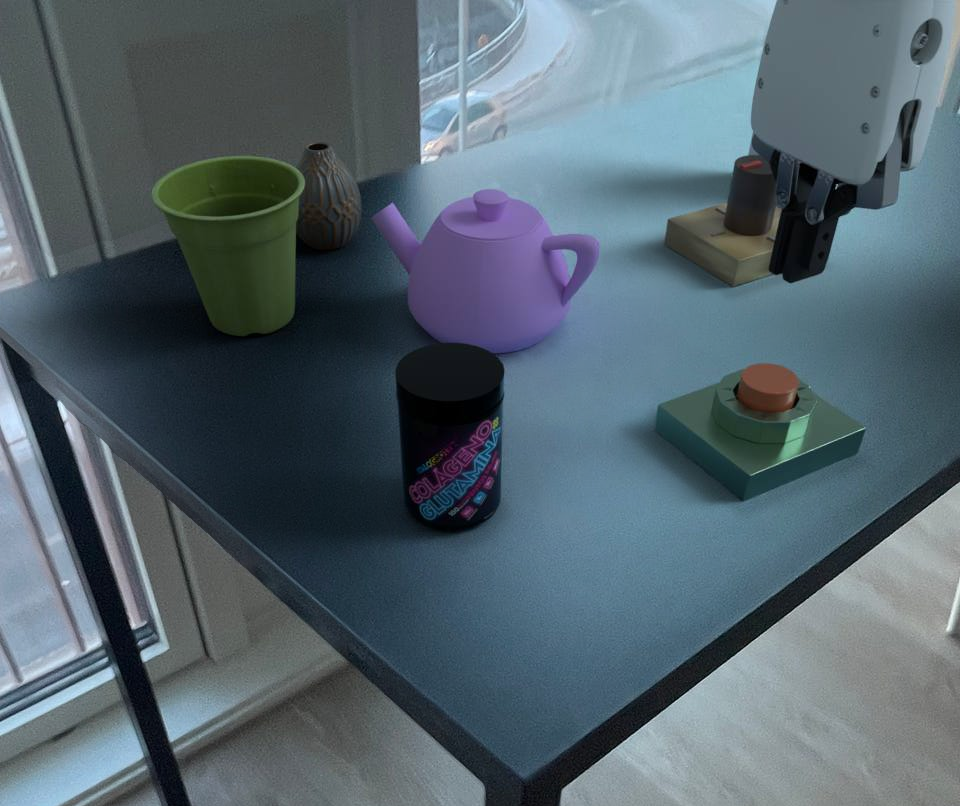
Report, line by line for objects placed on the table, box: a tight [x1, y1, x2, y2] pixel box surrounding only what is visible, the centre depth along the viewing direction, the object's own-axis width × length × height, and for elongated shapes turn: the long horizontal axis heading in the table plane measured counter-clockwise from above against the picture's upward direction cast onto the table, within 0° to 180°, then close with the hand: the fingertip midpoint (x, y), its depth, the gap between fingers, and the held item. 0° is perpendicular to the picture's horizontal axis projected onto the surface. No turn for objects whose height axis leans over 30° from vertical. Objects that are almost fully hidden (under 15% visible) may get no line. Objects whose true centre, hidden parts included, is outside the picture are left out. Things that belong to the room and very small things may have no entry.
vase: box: [294, 140, 362, 251], centre depth 94 cm, size 7×7×9 cm
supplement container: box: [394, 342, 506, 533], centre depth 65 cm, size 7×7×10 cm
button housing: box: [654, 368, 867, 502], centre depth 73 cm, size 11×10×4 cm
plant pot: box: [150, 155, 305, 337], centre depth 83 cm, size 12×12×11 cm
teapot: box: [370, 188, 601, 354], centre depth 83 cm, size 14×20×11 cm
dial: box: [724, 155, 777, 235], centre depth 92 cm, size 4×4×6 cm
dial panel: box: [663, 202, 782, 288], centre depth 95 cm, size 11×10×3 cm
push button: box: [737, 362, 800, 413], centre depth 71 cm, size 4×4×2 cm
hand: (795, 272), depth 65 cm, fingers closed
